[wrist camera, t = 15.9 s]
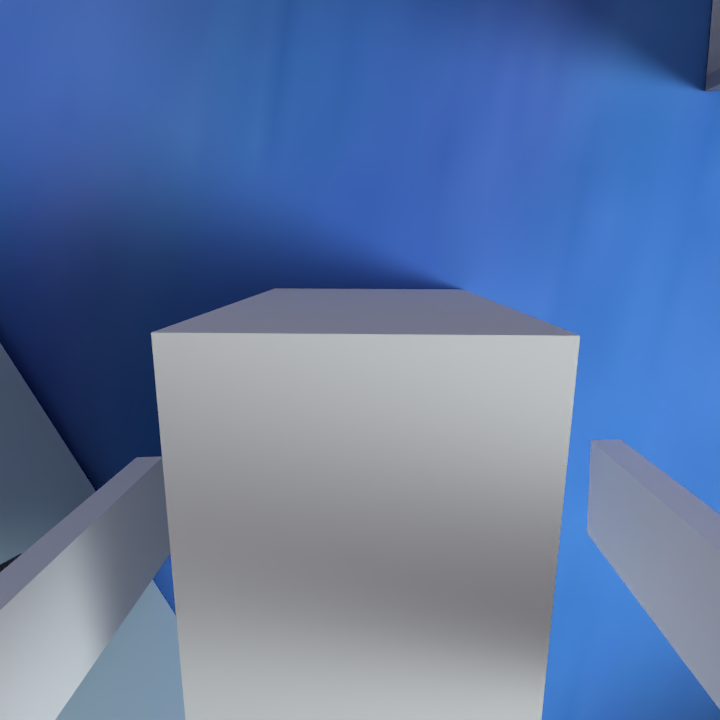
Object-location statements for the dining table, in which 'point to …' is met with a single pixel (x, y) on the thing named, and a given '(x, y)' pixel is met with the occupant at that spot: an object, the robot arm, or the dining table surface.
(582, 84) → the dining table surface
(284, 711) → the white rectangular block
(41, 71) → the dining table surface
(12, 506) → the door
